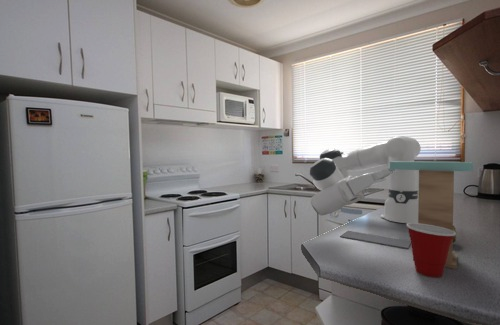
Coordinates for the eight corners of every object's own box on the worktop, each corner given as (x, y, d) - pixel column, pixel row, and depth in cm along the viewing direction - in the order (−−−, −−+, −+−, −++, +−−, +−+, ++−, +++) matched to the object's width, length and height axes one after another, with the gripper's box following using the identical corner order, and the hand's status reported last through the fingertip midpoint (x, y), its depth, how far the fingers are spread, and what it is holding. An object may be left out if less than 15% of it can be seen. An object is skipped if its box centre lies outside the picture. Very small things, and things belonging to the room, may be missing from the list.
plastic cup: (467, 281, 65) (468, 232, 65) (424, 283, 65) (425, 233, 64) (433, 263, 76) (434, 221, 76) (396, 264, 75) (397, 221, 75)
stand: (417, 249, 87) (418, 169, 87) (456, 256, 81) (458, 169, 81) (413, 260, 78) (414, 170, 78) (456, 269, 72) (458, 171, 72)
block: (392, 168, 88) (392, 161, 88) (471, 170, 76) (471, 162, 76) (389, 169, 85) (389, 161, 85) (472, 171, 73) (472, 162, 73)
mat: (347, 231, 108) (347, 230, 108) (411, 242, 95) (411, 240, 95) (340, 237, 101) (340, 235, 101) (408, 249, 88) (408, 248, 88)
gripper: (365, 193, 100) (402, 176, 93) (348, 201, 84) (391, 180, 77) (356, 178, 102) (392, 160, 95) (338, 182, 86) (379, 161, 78)
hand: (391, 169), depth 86 cm, fingers open, 8 cm apart
